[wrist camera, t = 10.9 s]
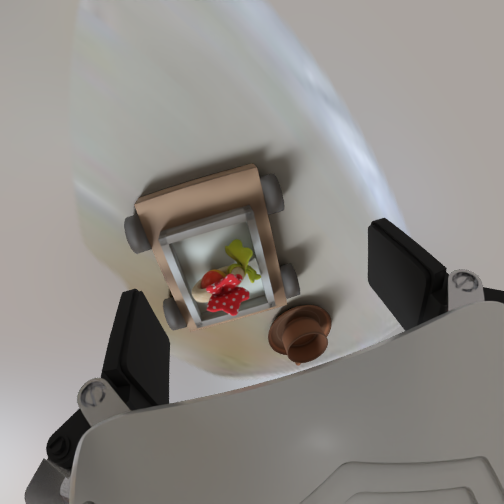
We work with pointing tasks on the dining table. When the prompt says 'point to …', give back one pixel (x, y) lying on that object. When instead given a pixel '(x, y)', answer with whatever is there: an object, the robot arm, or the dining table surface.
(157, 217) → the chassis
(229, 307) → the bird rattle
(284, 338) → the cup and saucer
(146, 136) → the dining table surface
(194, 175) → the dining table surface
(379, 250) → the robot arm
